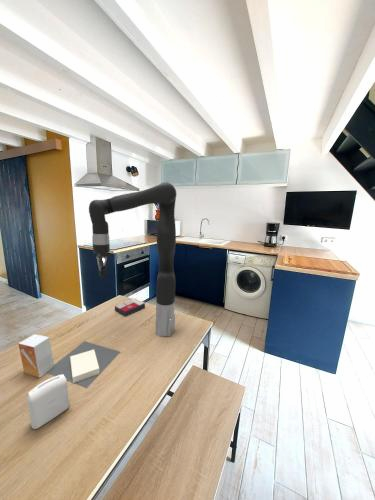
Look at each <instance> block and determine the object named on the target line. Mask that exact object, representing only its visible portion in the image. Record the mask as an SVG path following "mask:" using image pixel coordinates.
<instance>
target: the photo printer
mask: <svg viewBox="0 0 375 500" xmlns="http://www.w3.org/2000/svg"><path fill="white" fill-rule="evenodd" d="M26 399H27V408H28V414H29V420H30V426H31V428H32V429H34V430H38V429H39V428H40V427H42V426H44V425H45V424H47V423H48V422H50V421H52V420H53V419H55V418H56V417H57V416H60V414H62V413H63V412H65V411H66V410H67V409H69V407H70V399H69V389H68V381H67V379H66V378H65V376H64V374H62V375H58V376H53V377H50V378H49V379H46V380H44V381H42V382H41V383H39V384H37V385H36V386H35V387H33V388H32V389H31V390H30V391H29V392H28V393H27V398H26Z"/></svg>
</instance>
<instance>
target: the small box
mask: <svg viewBox="0 0 375 500" xmlns="http://www.w3.org/2000/svg"><path fill="white" fill-rule="evenodd" d="M17 345H18V349H19V353H20V354H19V355H20V358H21V363H22V368H23V373H24V374H27V375H29V376H32V377H36V378H40V379H41V377H43V376H44V375H45V374H47V373H46V372H48V371H49V370H50V369H52V368H53V367H54V364H55V362H54V357H53V350H52V344H51V341H50V336H45V335H42V334H41V335H40V334H37V333H36V334H35V333H34V334H32V335H30V336H29V337H27V338H25V339H24V340H22V341H19V342H18V344H17Z"/></svg>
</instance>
